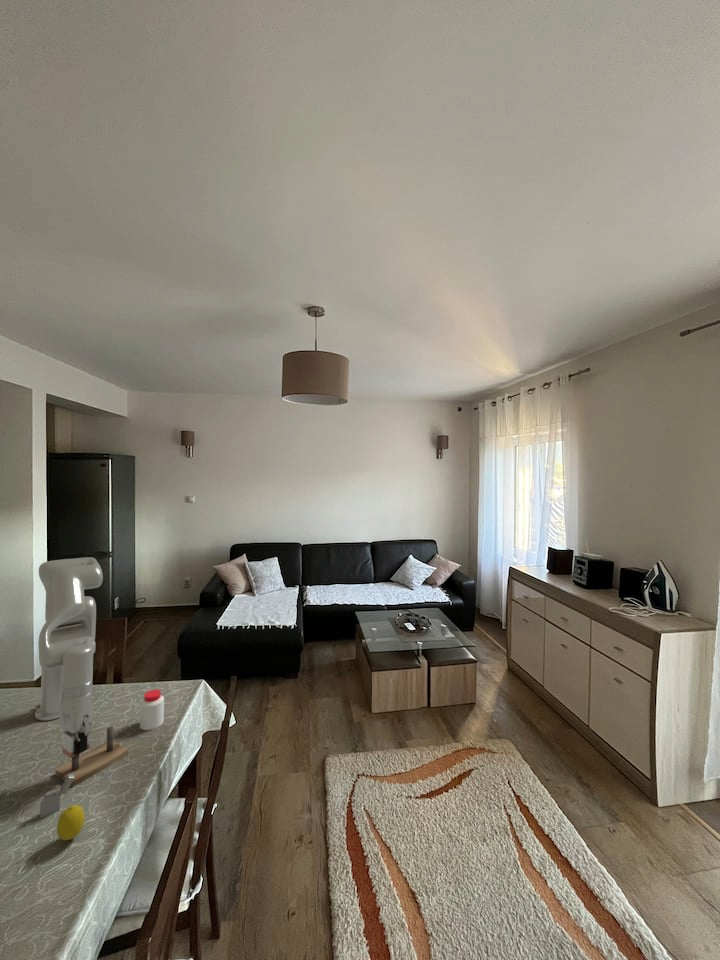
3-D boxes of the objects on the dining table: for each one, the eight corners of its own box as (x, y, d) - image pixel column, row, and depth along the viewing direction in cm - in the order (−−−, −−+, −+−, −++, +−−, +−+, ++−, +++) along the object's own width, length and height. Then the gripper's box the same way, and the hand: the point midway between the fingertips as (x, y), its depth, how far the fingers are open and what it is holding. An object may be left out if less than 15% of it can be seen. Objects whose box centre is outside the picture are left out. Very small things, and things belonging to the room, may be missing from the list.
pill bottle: (153, 731, 140) (154, 700, 140) (134, 728, 142) (135, 697, 142) (168, 719, 148) (169, 689, 148) (150, 716, 149) (150, 686, 149)
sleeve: (62, 752, 118) (62, 732, 118) (80, 743, 123) (81, 723, 123) (70, 758, 116) (71, 737, 116) (89, 748, 120) (89, 728, 120)
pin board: (55, 774, 119) (56, 745, 119) (110, 744, 133) (111, 718, 133) (72, 787, 114) (73, 757, 114) (127, 754, 128) (128, 728, 128)
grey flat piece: (40, 818, 104) (41, 787, 104) (40, 814, 105) (40, 783, 105) (73, 804, 108) (74, 775, 108) (73, 800, 109) (73, 771, 110)
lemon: (66, 829, 100) (66, 798, 100) (89, 828, 101) (89, 797, 101) (50, 850, 95) (51, 816, 95) (75, 848, 95) (76, 815, 95)
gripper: (49, 686, 120) (47, 746, 120) (78, 702, 112) (76, 766, 112) (76, 676, 127) (75, 733, 127) (106, 690, 119) (104, 751, 118)
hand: (75, 748), depth 119 cm, fingers closed on sleeve, 5 cm apart
